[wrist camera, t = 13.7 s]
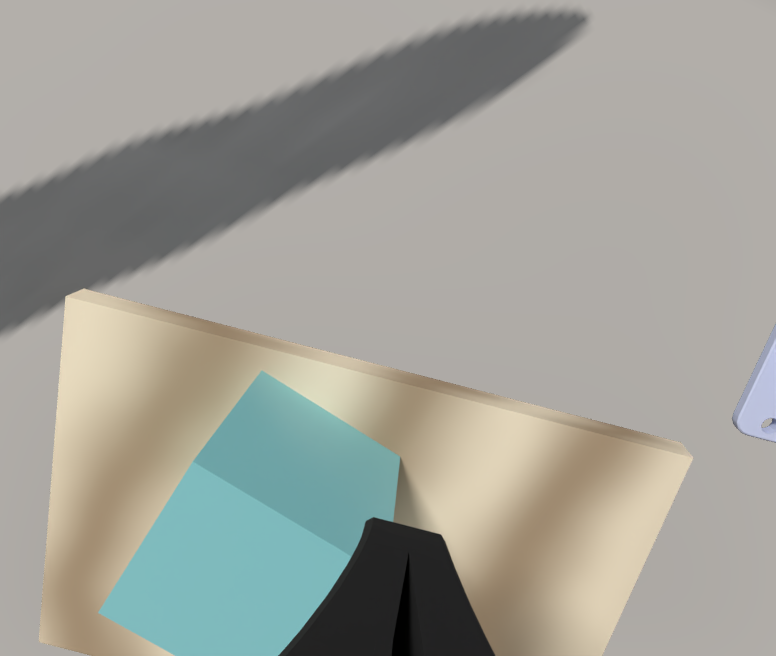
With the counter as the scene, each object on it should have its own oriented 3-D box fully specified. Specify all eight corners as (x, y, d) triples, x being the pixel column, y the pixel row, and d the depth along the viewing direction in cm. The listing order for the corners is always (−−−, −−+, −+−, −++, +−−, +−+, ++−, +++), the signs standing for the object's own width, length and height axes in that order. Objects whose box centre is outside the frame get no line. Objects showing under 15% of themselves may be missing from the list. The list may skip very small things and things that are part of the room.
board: (680, 442, 19) (760, 540, 15) (543, 747, 24) (571, 899, 19) (83, 288, 19) (-31, 336, 15) (54, 621, 24) (-41, 742, 19)
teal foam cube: (400, 456, 19) (387, 577, 14) (317, 565, 21) (276, 712, 15) (261, 369, 19) (192, 461, 13) (186, 488, 20) (97, 612, 15)
